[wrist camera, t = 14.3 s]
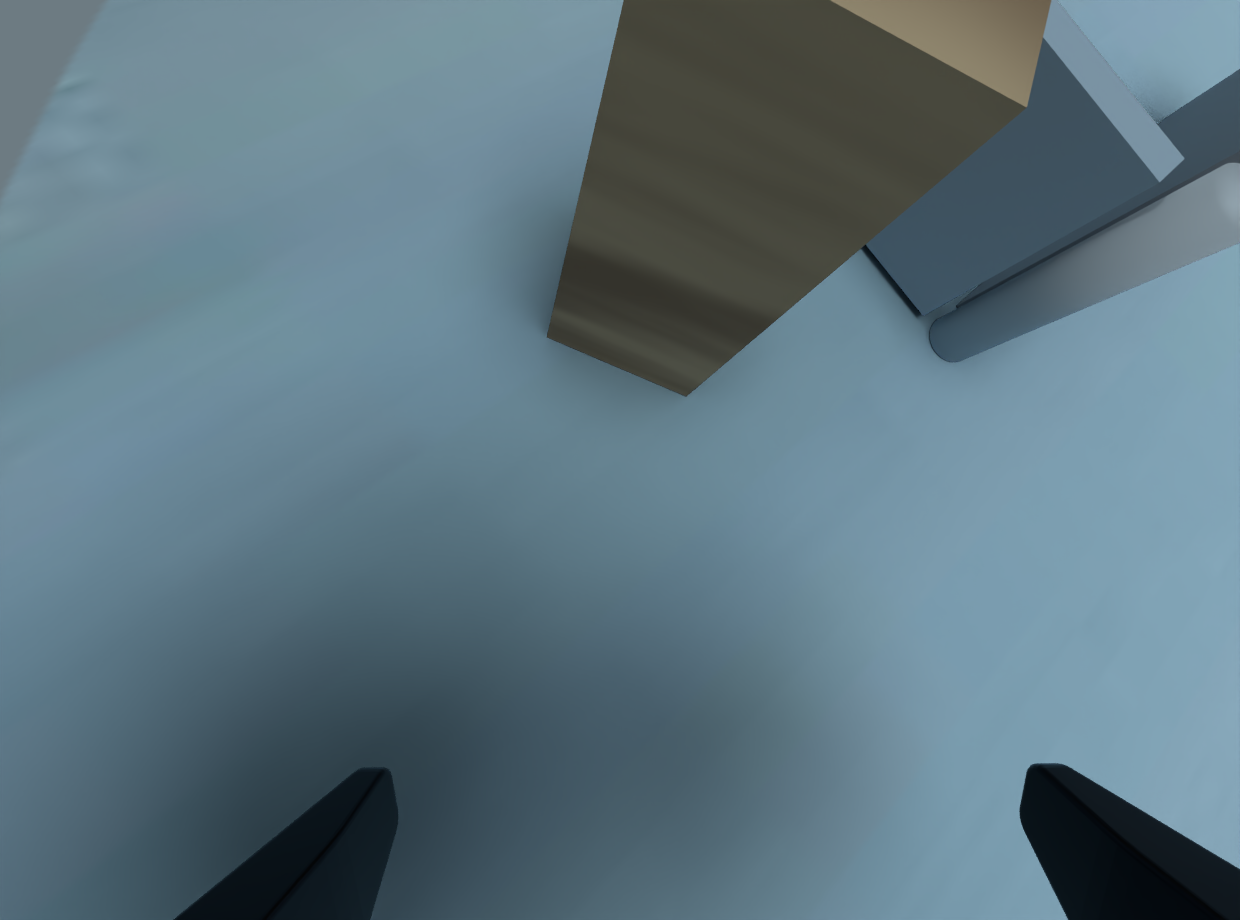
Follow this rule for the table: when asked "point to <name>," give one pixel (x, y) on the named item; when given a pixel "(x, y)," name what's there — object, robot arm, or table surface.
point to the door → (1030, 175)
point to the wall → (1118, 237)
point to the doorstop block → (768, 159)
